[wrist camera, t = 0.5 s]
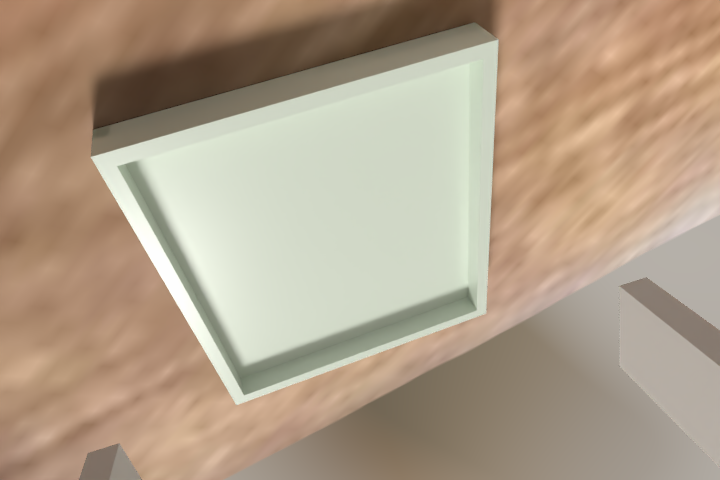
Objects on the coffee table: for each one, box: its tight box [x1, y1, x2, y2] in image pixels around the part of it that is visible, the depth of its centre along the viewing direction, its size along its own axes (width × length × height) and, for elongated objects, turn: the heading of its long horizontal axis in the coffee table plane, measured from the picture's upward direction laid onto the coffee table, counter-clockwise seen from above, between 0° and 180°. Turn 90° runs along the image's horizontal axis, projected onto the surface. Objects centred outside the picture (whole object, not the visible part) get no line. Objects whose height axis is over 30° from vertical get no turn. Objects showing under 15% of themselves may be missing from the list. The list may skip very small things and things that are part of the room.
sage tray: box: [91, 22, 499, 405], centre depth 34 cm, size 22×20×2 cm
